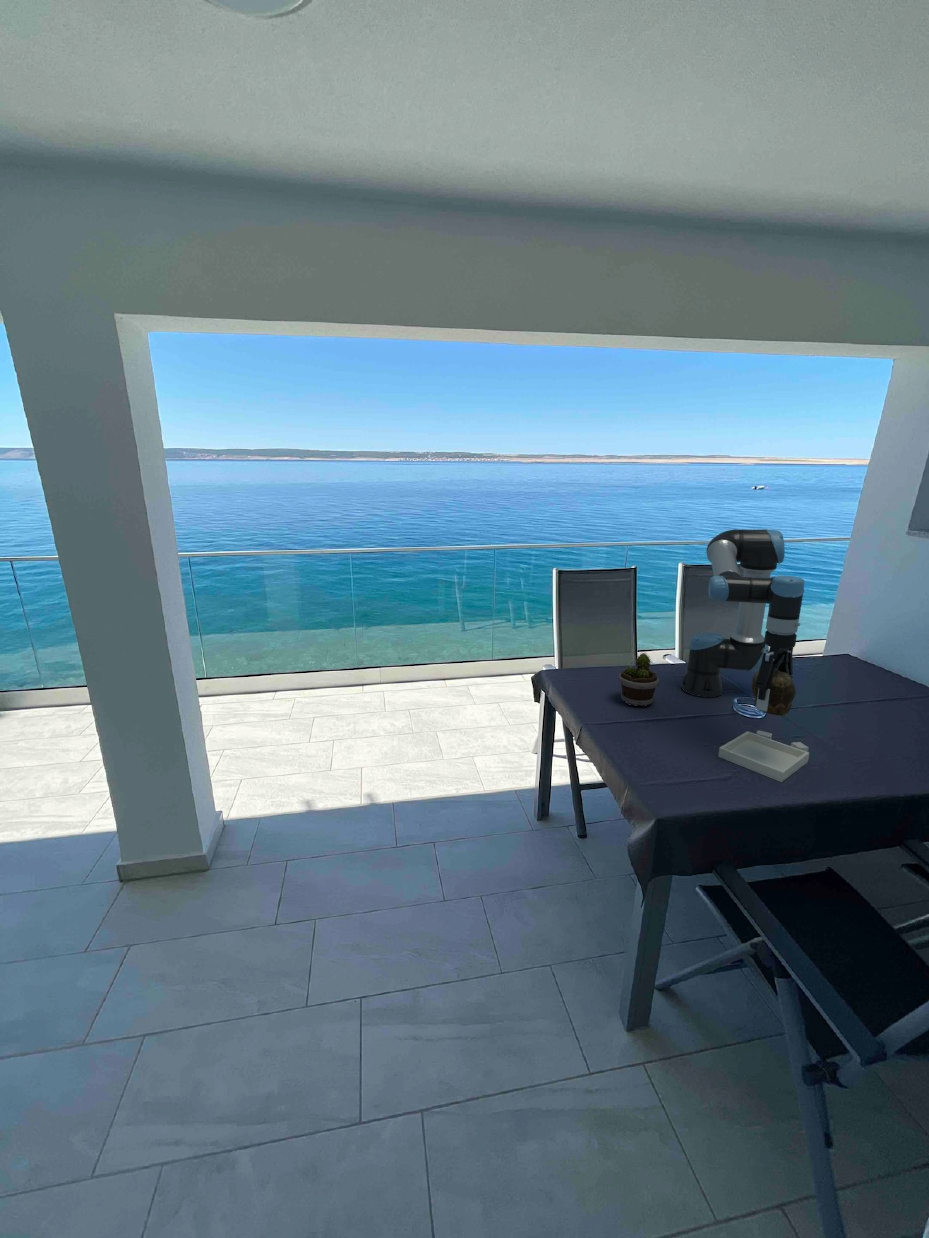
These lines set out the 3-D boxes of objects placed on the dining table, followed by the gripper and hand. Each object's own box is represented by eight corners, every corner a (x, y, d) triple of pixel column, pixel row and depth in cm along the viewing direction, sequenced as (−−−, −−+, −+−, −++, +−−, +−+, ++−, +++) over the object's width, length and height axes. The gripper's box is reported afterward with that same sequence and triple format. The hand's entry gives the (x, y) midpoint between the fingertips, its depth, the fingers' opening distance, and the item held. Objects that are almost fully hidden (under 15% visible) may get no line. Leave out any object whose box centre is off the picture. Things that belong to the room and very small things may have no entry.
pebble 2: (790, 748, 156) (791, 742, 156) (799, 748, 156) (800, 742, 156) (798, 754, 153) (799, 748, 152) (807, 754, 153) (808, 747, 152)
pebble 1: (755, 740, 162) (756, 733, 161) (756, 736, 164) (757, 730, 164) (769, 743, 160) (770, 737, 159) (770, 740, 162) (772, 733, 161)
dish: (718, 756, 152) (719, 747, 151) (746, 739, 162) (747, 731, 161) (781, 782, 138) (783, 772, 137) (807, 761, 148) (809, 752, 148)
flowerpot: (645, 714, 182) (649, 661, 177) (608, 701, 193) (611, 652, 188) (665, 702, 191) (669, 652, 186) (629, 691, 202) (632, 644, 197)
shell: (740, 703, 151) (745, 665, 148) (775, 701, 152) (780, 663, 149) (764, 718, 140) (770, 678, 137) (801, 716, 141) (807, 676, 138)
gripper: (777, 642, 131) (766, 719, 136) (813, 627, 144) (802, 698, 150) (747, 636, 137) (737, 710, 142) (784, 622, 150) (774, 690, 155)
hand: (770, 704), depth 146 cm, fingers closed on shell, 11 cm apart
